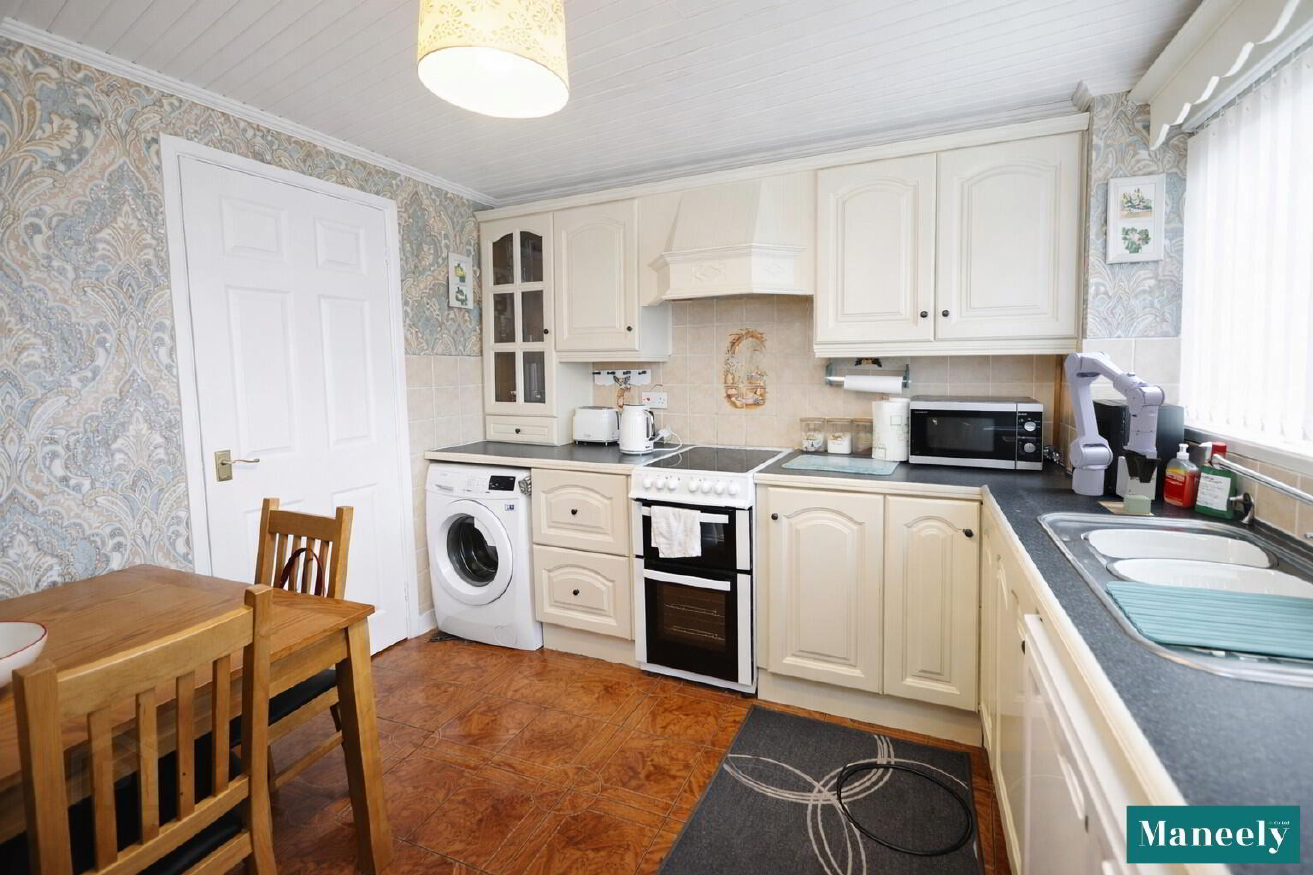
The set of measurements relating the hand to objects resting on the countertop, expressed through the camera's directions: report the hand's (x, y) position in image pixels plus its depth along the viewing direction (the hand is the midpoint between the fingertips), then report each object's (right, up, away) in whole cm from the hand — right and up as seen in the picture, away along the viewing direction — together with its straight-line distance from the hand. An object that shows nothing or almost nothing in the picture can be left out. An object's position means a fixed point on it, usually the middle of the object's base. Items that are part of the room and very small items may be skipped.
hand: (1139, 479), depth 174 cm
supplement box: (+9, -7, +14) cm, 19 cm away
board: (-2, -9, +2) cm, 10 cm away
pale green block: (-2, -9, -2) cm, 9 cm away
